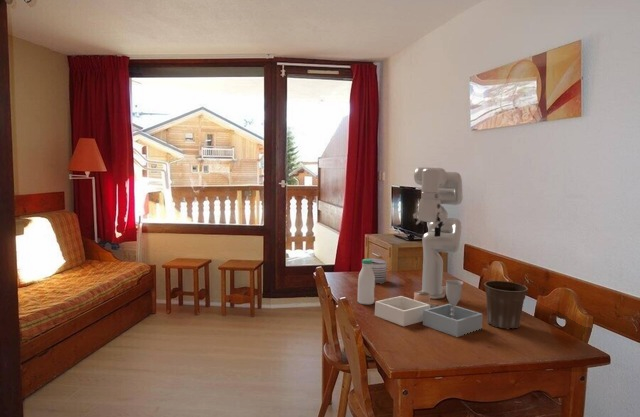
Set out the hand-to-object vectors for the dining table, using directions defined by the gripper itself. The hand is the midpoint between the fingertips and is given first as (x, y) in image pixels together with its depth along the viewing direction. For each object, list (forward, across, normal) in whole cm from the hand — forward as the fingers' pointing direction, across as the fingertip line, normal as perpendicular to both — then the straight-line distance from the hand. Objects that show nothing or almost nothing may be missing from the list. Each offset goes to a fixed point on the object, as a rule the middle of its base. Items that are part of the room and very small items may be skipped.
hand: (428, 234), depth 201 cm
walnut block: (+33, -9, +9) cm, 35 cm away
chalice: (+32, -23, +13) cm, 42 cm away
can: (+34, +46, -15) cm, 59 cm away
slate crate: (+32, -23, +13) cm, 42 cm away
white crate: (+32, -4, +20) cm, 39 cm away
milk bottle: (+33, +20, +18) cm, 42 cm away
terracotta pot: (+33, -2, +4) cm, 33 cm away
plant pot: (+33, -34, -7) cm, 48 cm away
